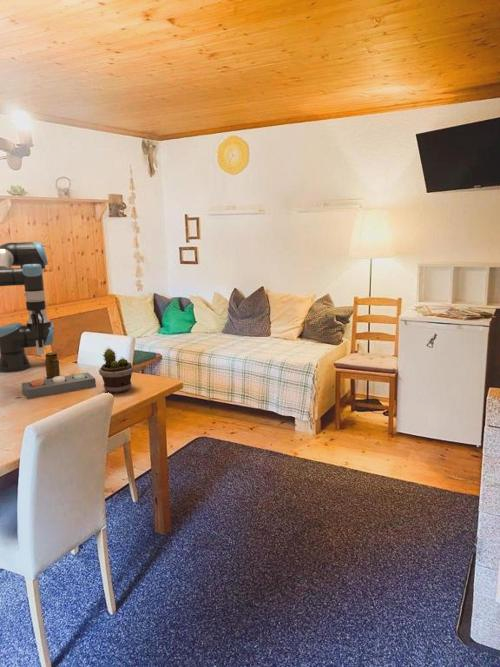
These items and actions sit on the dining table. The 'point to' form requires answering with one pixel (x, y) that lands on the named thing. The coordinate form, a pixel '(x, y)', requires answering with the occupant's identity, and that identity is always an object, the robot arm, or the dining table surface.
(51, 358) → the condiment
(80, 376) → the button sage
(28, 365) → the robot arm
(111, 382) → the flowerpot
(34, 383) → the button rust
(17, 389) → the dining table surface
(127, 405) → the dining table surface
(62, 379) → the button white
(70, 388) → the console
